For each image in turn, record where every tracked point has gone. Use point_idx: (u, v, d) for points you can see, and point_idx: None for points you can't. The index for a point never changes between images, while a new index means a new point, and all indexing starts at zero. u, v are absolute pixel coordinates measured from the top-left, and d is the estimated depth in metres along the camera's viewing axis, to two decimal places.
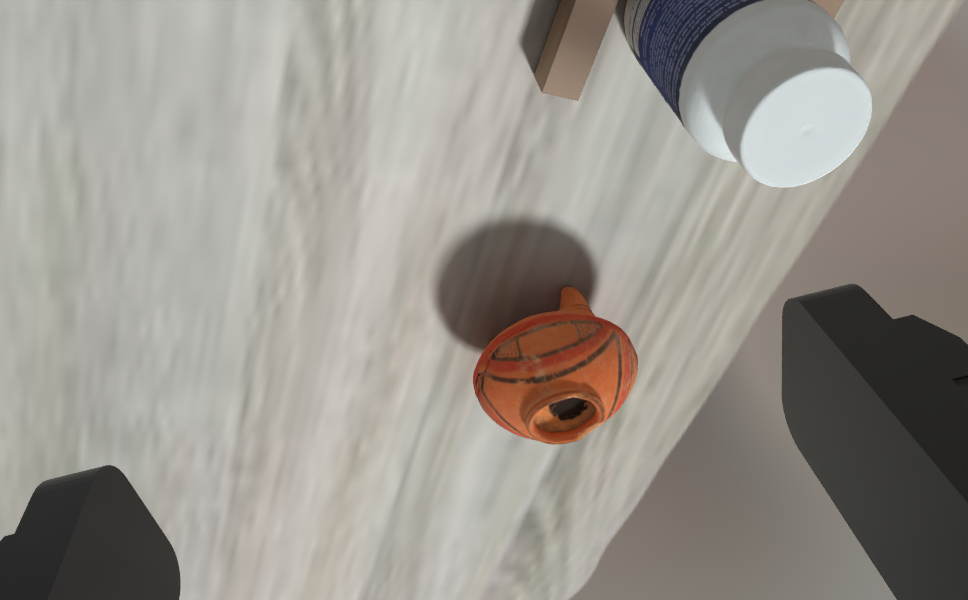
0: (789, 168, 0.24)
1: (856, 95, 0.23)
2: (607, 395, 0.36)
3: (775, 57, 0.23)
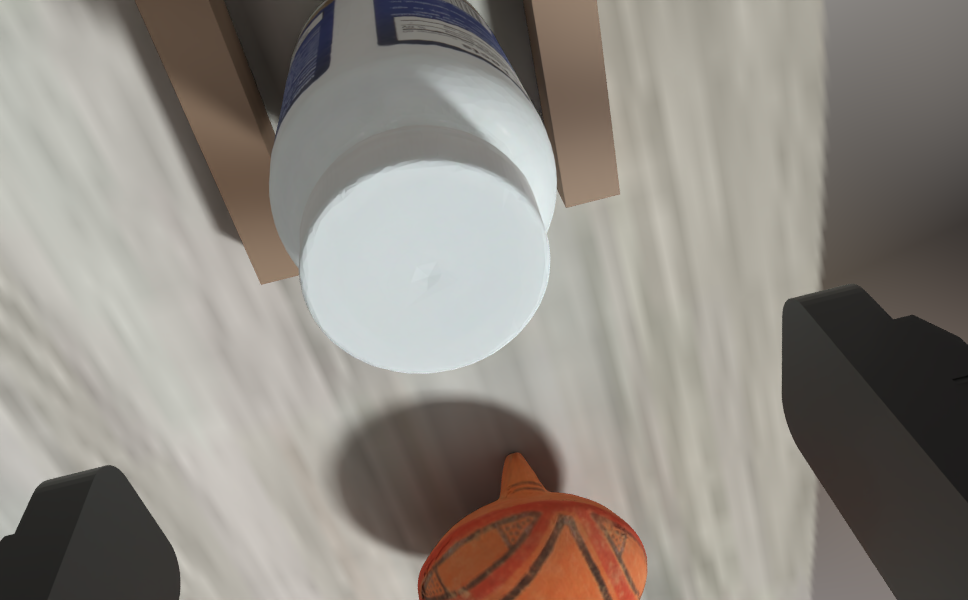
0: (456, 335, 0.13)
1: (462, 189, 0.12)
2: None
3: None
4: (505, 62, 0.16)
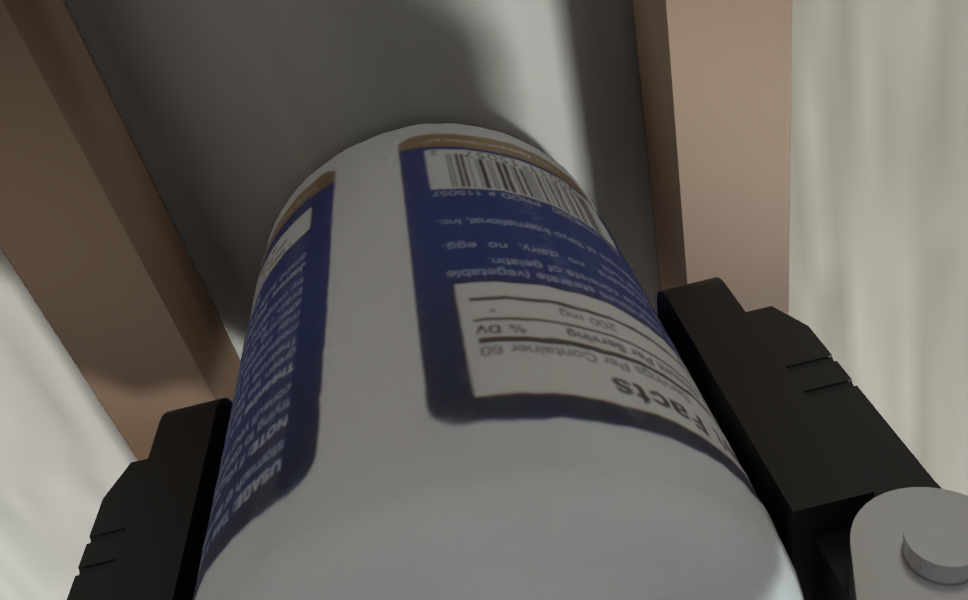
0: None
1: None
2: None
3: None
4: (674, 360, 0.08)
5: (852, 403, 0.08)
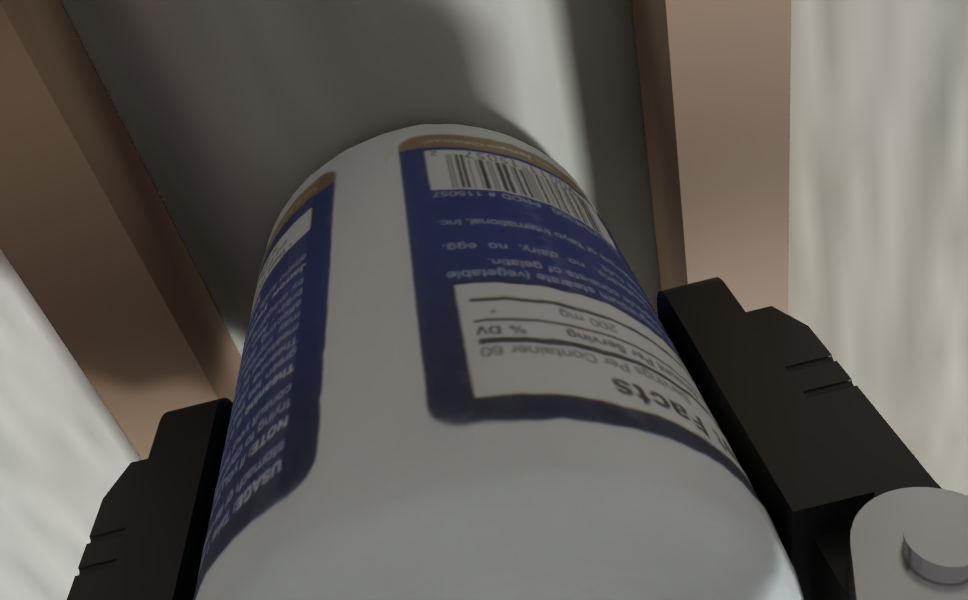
0: None
1: None
2: None
3: None
4: (674, 361, 0.08)
5: (852, 403, 0.08)
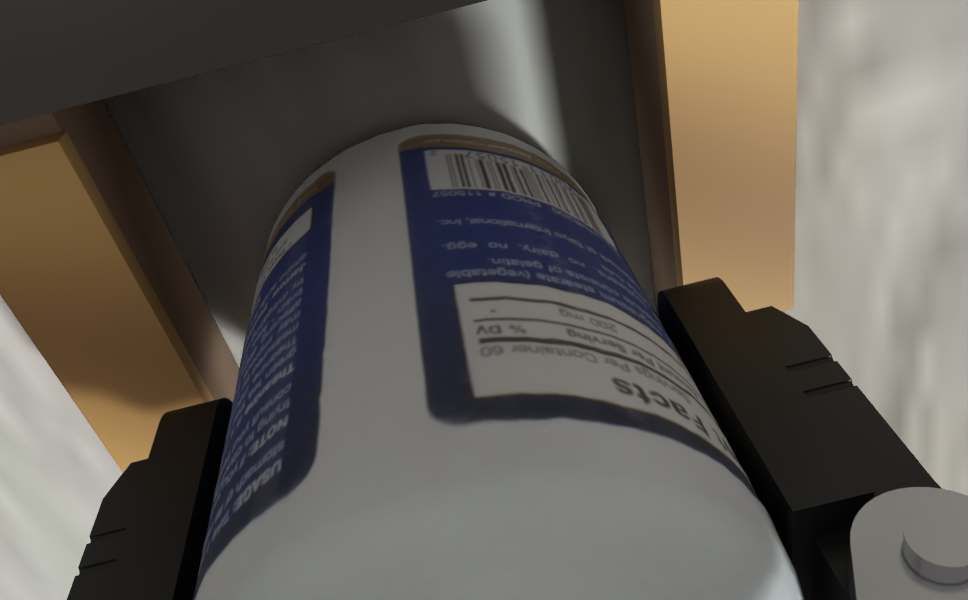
0: None
1: None
2: None
3: None
4: (675, 360, 0.08)
5: (852, 403, 0.08)
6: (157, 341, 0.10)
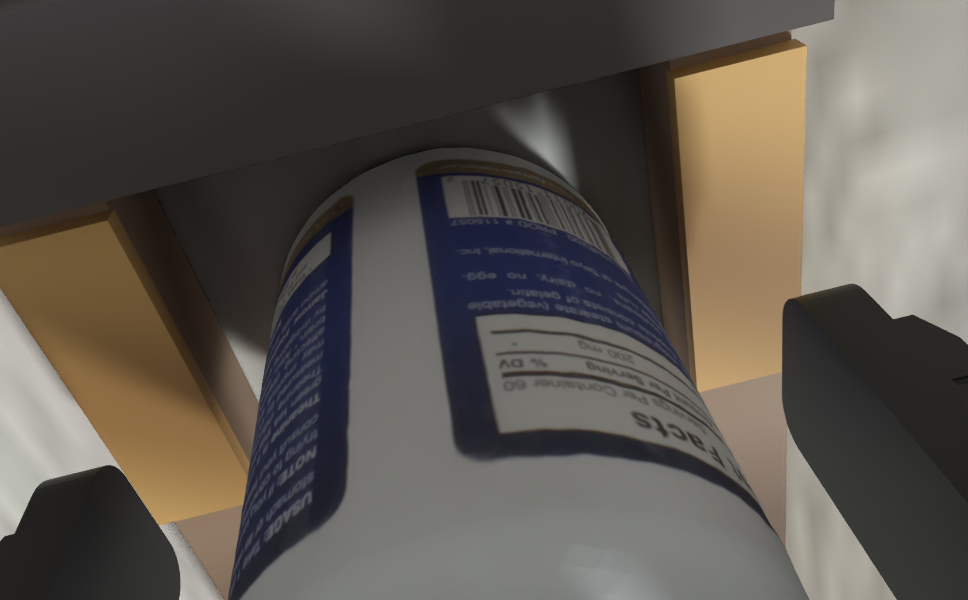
0: None
1: None
2: None
3: None
4: (689, 389, 0.08)
5: None
6: (193, 400, 0.11)
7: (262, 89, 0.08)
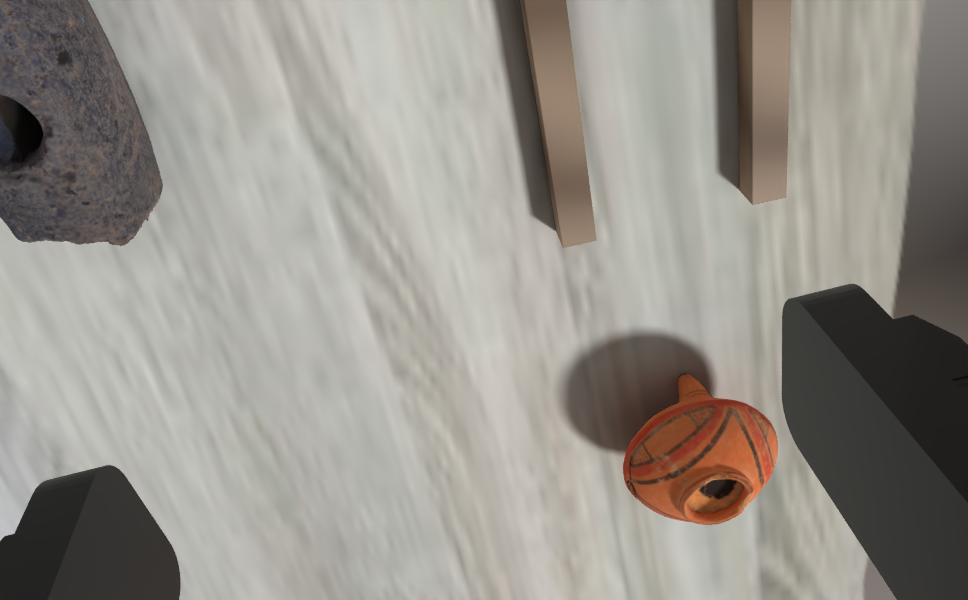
0: None
1: None
2: (746, 467, 0.38)
3: None
4: None
5: None
6: None
7: None
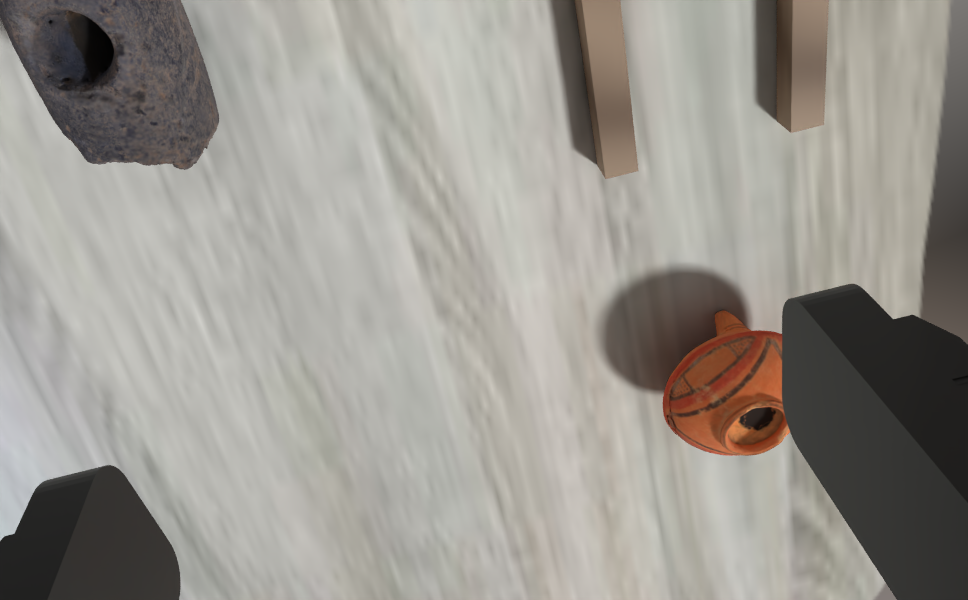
0: None
1: None
2: None
3: None
4: None
5: None
6: None
7: None
